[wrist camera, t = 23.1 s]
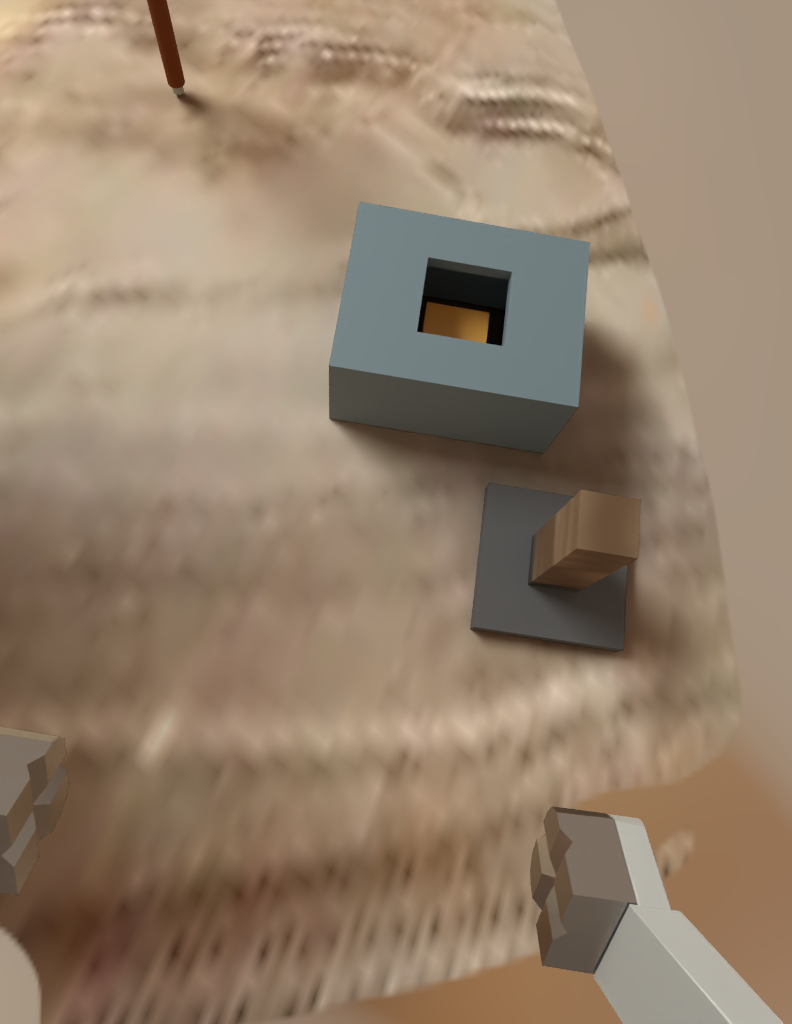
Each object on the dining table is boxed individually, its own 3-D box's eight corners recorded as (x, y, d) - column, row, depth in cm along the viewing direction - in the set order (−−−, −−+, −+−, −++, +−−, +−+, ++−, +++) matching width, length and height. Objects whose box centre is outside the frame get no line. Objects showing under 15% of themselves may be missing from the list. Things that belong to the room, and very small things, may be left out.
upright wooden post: (527, 584, 43) (576, 548, 34) (532, 536, 44) (581, 489, 35) (576, 592, 43) (638, 558, 34) (580, 544, 44) (640, 499, 35)
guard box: (329, 418, 46) (328, 365, 39) (355, 273, 49) (359, 201, 42) (543, 453, 46) (578, 407, 40) (555, 307, 50) (589, 242, 43)
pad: (470, 628, 43) (473, 626, 42) (485, 488, 45) (488, 482, 44) (617, 651, 43) (623, 649, 42) (623, 510, 46) (629, 505, 45)
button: (414, 377, 46) (419, 357, 44) (422, 324, 48) (427, 301, 45) (475, 387, 47) (483, 368, 44) (481, 334, 48) (489, 312, 45)
